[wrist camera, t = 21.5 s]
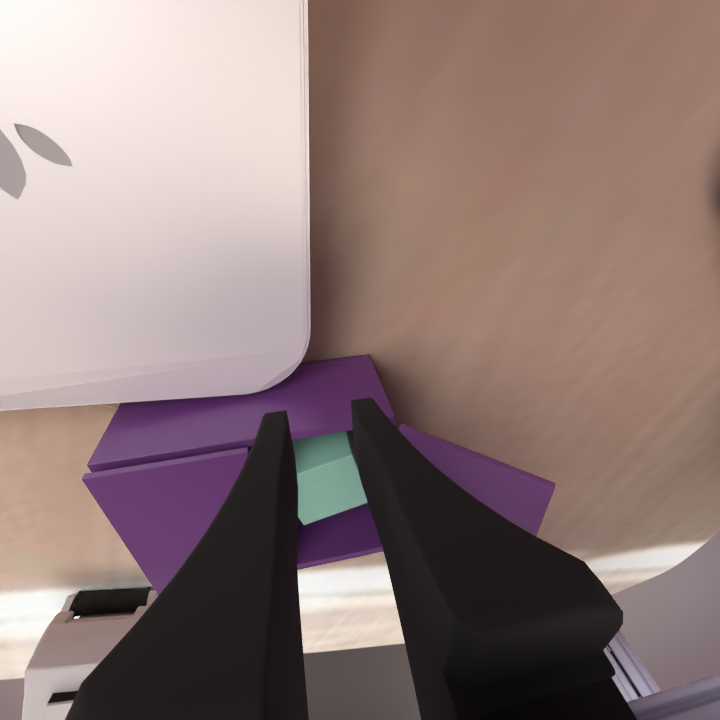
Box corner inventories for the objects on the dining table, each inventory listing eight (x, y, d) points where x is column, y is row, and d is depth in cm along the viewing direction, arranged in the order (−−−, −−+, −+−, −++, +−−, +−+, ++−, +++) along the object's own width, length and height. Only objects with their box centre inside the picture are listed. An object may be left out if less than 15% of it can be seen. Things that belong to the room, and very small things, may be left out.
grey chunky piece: (164, 573, 31) (134, 641, 22) (150, 661, 30) (113, 771, 21) (82, 577, 30) (12, 652, 20) (65, 670, 29) (-18, 795, 19)
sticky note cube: (299, 469, 25) (303, 525, 21) (274, 426, 22) (274, 482, 19) (358, 448, 25) (372, 501, 21) (339, 403, 22) (352, 454, 19)
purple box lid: (398, 427, 16) (401, 422, 17) (393, 560, 22) (396, 556, 22) (554, 488, 13) (556, 483, 14) (501, 623, 19) (502, 618, 20)
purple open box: (369, 353, 21) (399, 425, 16) (371, 479, 27) (394, 560, 22) (129, 385, 20) (78, 478, 14) (188, 513, 26) (167, 611, 20)
